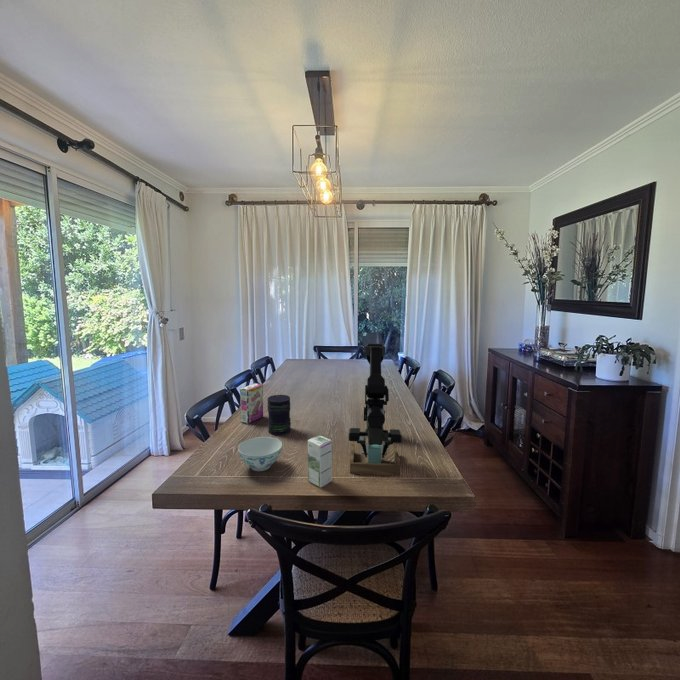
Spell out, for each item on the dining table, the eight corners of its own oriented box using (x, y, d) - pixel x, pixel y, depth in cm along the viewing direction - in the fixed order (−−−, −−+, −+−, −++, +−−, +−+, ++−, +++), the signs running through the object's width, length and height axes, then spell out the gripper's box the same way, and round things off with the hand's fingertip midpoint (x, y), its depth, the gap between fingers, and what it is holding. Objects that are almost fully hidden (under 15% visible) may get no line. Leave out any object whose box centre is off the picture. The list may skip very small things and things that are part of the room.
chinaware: (232, 463, 126) (232, 443, 125) (271, 452, 135) (271, 433, 134) (248, 482, 114) (247, 460, 113) (289, 469, 123) (289, 448, 122)
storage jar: (295, 431, 155) (294, 398, 153) (276, 437, 148) (275, 403, 146) (282, 424, 162) (281, 393, 160) (263, 430, 155) (262, 397, 153)
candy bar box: (248, 424, 162) (247, 389, 160) (240, 422, 164) (239, 388, 162) (264, 416, 172) (263, 384, 170) (256, 414, 174) (255, 382, 172)
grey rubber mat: (362, 443, 143) (362, 442, 143) (384, 444, 143) (384, 443, 142) (362, 453, 134) (362, 453, 134) (385, 454, 134) (385, 454, 134)
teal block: (368, 458, 131) (368, 443, 130) (380, 458, 131) (380, 443, 130) (368, 464, 126) (368, 448, 126) (380, 464, 126) (381, 449, 125)
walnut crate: (351, 452, 135) (351, 444, 135) (396, 454, 134) (396, 445, 133) (349, 473, 120) (350, 463, 120) (400, 475, 119) (400, 465, 119)
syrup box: (332, 481, 115) (332, 439, 113) (319, 488, 111) (319, 445, 109) (320, 474, 119) (320, 434, 117) (307, 482, 115) (306, 439, 113)
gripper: (348, 424, 119) (347, 467, 121) (404, 426, 117) (402, 469, 120) (349, 412, 130) (349, 452, 132) (400, 414, 128) (399, 454, 131)
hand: (374, 457), depth 128 cm, fingers open, 6 cm apart
